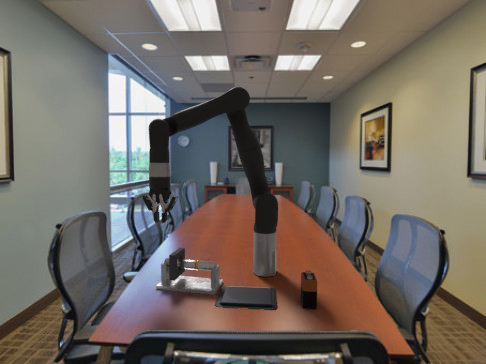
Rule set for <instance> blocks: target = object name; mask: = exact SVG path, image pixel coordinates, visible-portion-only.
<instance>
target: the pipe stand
mask: <svg viewBox="0 0 486 364" xmlns="http://www.w3.org/2000/svg"><path fill="white" fill-rule="evenodd" d="M177 268H184V269H185V270H195V271H206V272H207V271H208V272H209V271H210V277H197V276H190V275H188V276H186V275H180V276H179V277H178V278H177V279H176V280H175V281H174V280H169V257H166V258H165V259H164V261H163V262H162V263H161V264H160V269H161V270H160V278H161V279H160V280H161V281H160V282H158V283H157V284H156V285H155V290H161V291H172V292H179V293H181V292H182V293H189V292H191V293H192V294H199V293H200V294H202V295H208V294H209V295H210V296H211V295H212V296H216V295H215V294H217V293H218V291H220V289H221V288H222V285H223V283H224V279H220V273H221V272H220V269H221V268H220V264H217V261H209V260H201V259H196V260H195V259H187V258H185V259H177Z"/></svg>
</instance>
